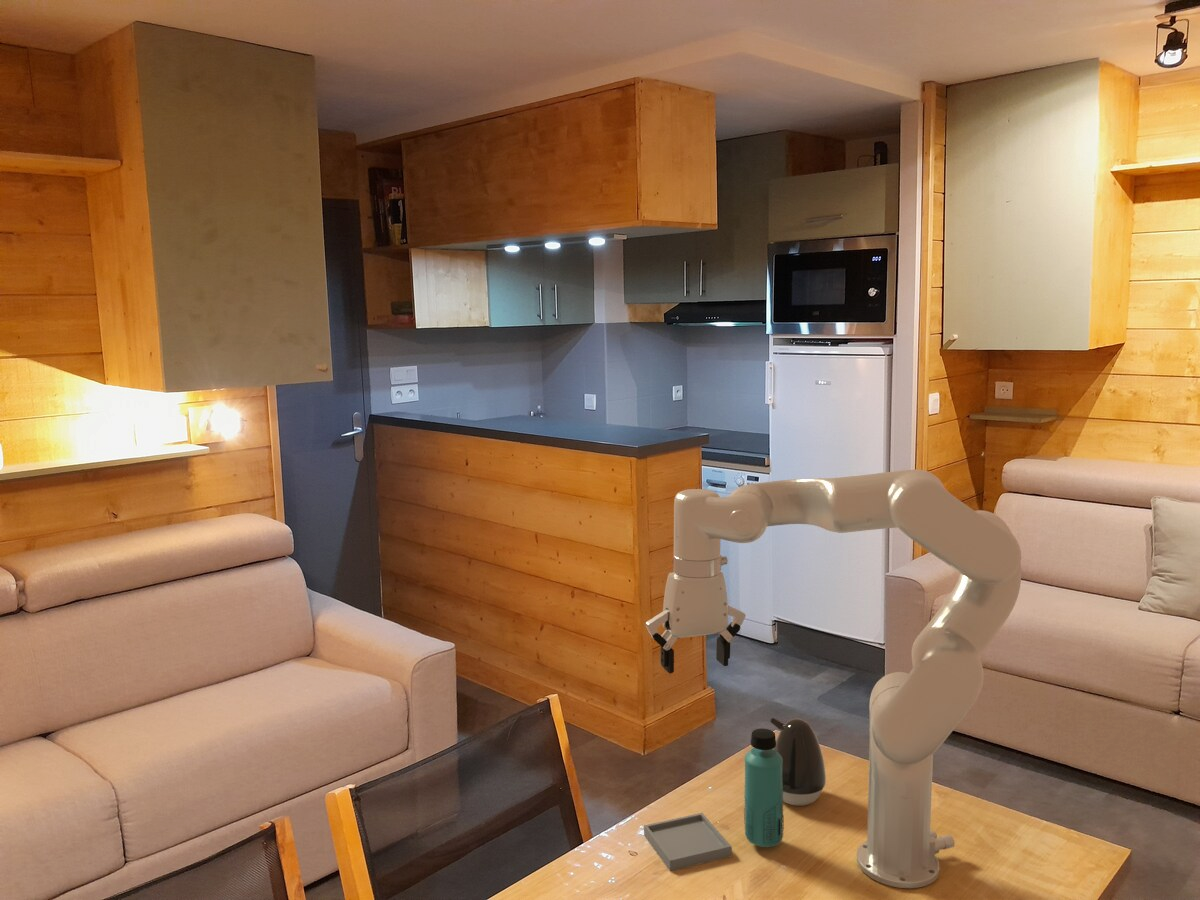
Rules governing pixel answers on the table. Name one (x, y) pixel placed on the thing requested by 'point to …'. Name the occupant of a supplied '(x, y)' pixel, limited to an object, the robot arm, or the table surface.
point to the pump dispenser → (800, 762)
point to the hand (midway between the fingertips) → (695, 666)
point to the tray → (687, 841)
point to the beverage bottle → (763, 791)
